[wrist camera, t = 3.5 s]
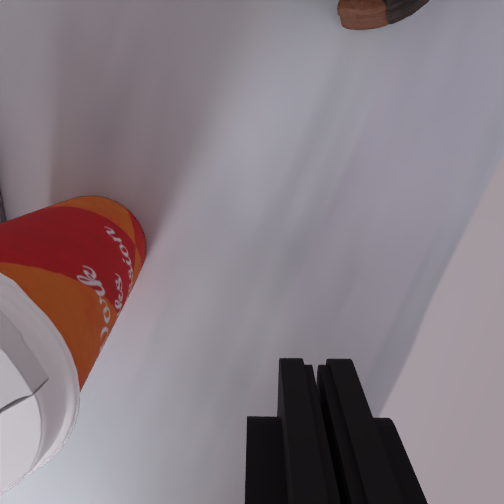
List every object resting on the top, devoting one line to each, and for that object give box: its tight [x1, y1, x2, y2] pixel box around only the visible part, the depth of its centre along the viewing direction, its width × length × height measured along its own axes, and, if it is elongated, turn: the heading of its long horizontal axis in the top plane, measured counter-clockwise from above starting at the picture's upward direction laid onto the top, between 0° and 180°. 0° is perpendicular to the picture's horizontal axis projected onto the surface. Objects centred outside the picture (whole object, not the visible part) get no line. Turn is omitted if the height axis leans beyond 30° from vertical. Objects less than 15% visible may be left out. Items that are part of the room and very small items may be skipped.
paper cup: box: [0, 196, 146, 494], centre depth 17 cm, size 8×8×14 cm
